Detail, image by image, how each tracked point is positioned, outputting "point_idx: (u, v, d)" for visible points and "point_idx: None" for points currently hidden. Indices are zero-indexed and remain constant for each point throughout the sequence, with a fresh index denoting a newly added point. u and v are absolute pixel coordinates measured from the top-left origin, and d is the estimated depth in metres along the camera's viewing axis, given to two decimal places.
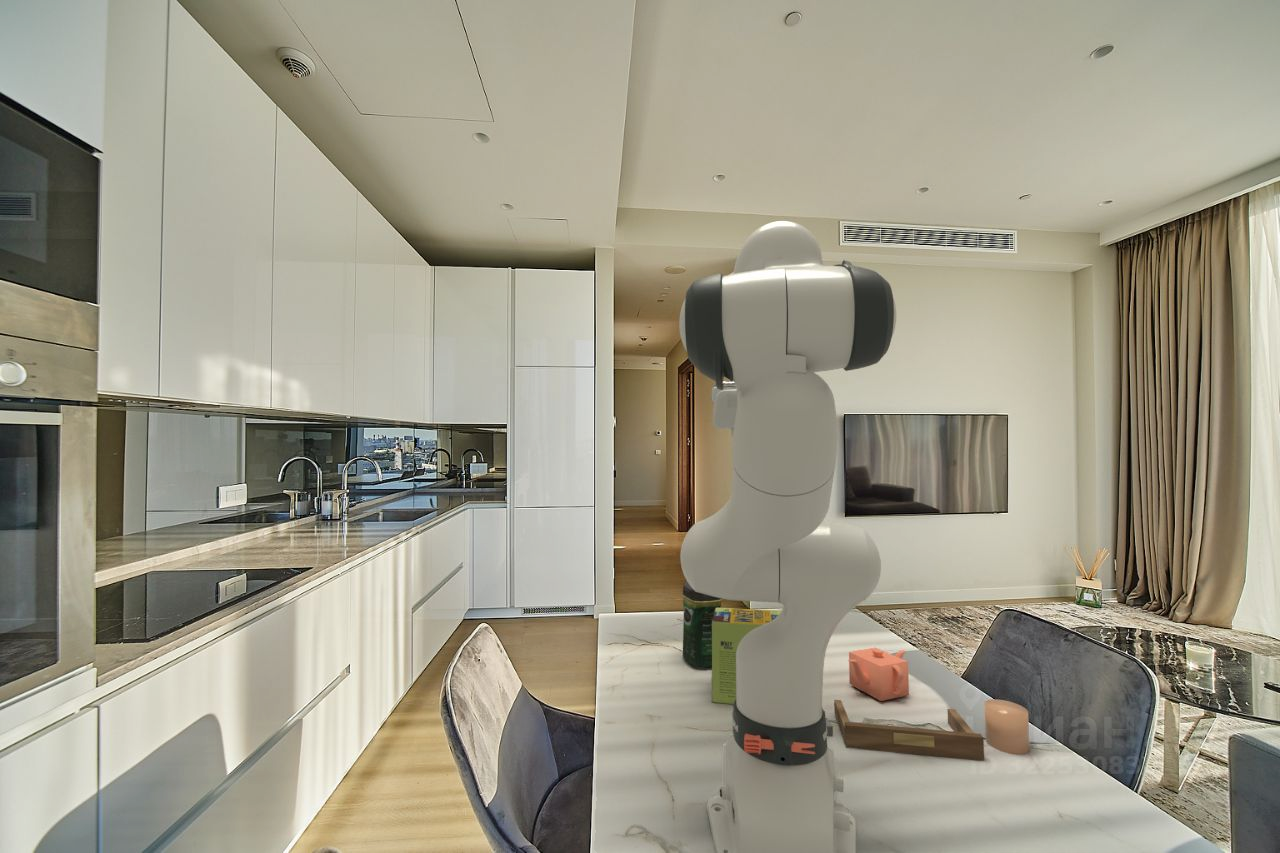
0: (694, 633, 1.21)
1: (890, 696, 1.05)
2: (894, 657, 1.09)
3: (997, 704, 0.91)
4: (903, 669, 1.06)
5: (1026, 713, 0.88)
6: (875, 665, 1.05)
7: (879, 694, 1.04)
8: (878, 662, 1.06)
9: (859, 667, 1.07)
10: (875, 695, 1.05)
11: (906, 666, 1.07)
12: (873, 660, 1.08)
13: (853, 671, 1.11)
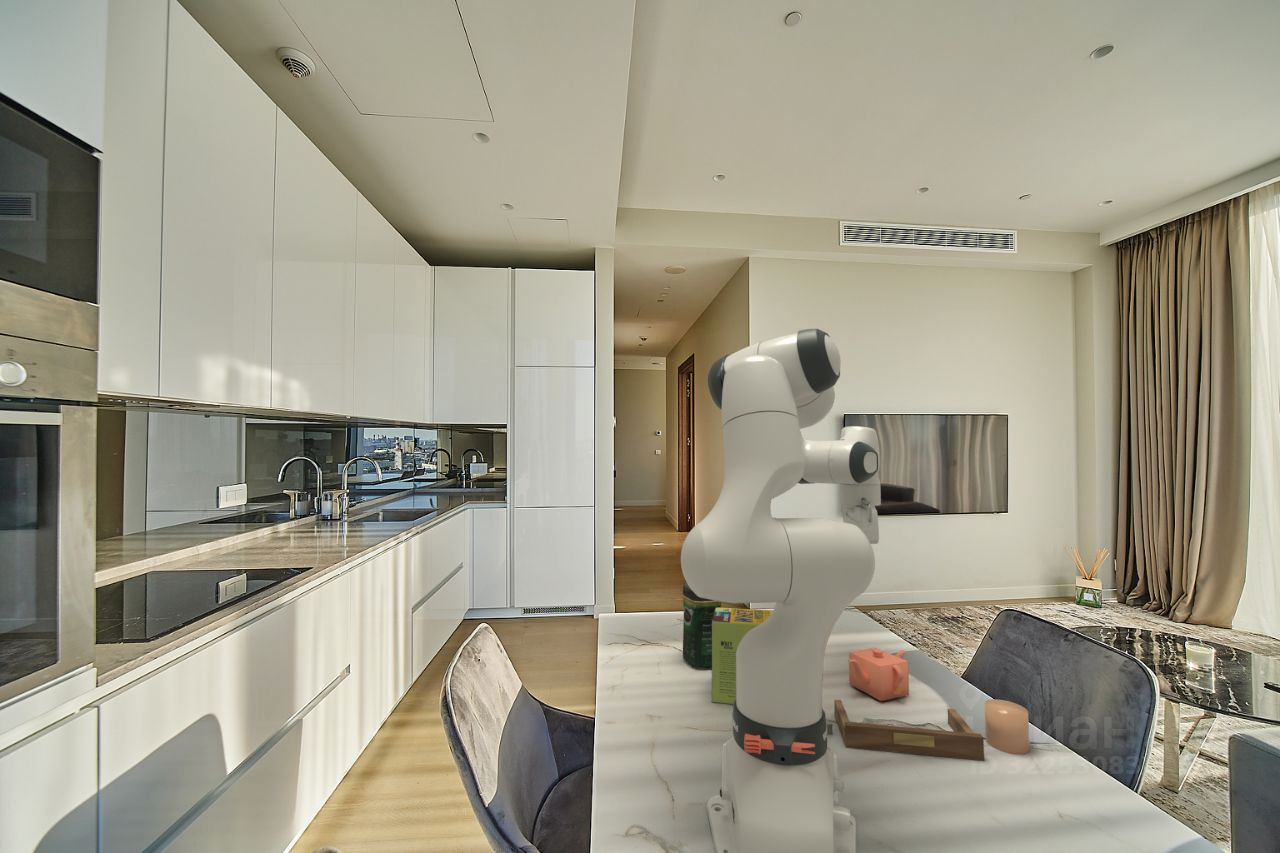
0: (694, 633, 1.21)
1: (890, 696, 1.05)
2: (894, 657, 1.09)
3: (997, 704, 0.91)
4: (903, 669, 1.06)
5: (1026, 713, 0.88)
6: (875, 665, 1.05)
7: (879, 694, 1.04)
8: (878, 662, 1.06)
9: (859, 667, 1.07)
10: (875, 695, 1.05)
11: (906, 666, 1.07)
12: (873, 660, 1.08)
13: (853, 671, 1.11)
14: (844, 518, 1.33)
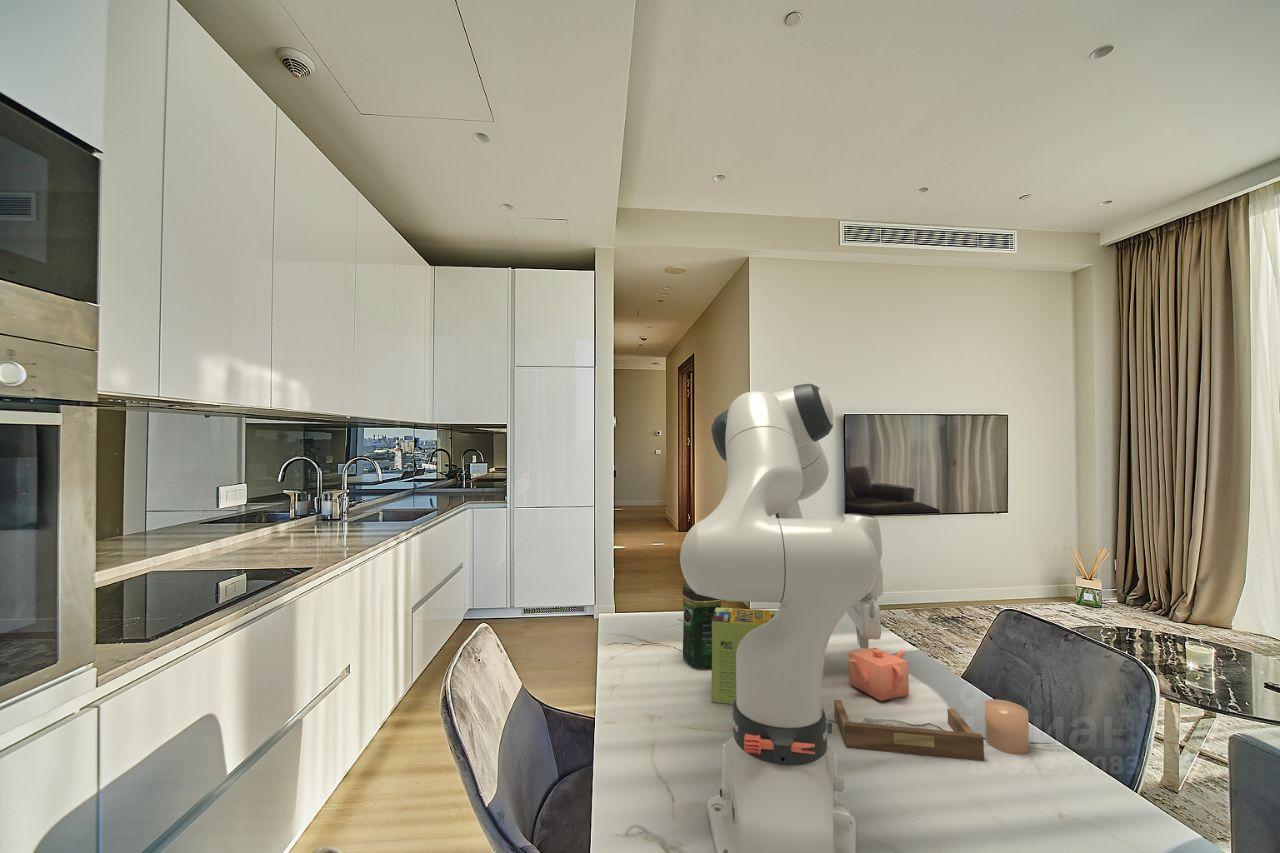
0: (694, 633, 1.21)
1: (890, 696, 1.05)
2: (894, 657, 1.09)
3: (997, 704, 0.91)
4: (903, 669, 1.06)
5: (1026, 713, 0.88)
6: (875, 665, 1.05)
7: (879, 694, 1.04)
8: (878, 662, 1.06)
9: (859, 667, 1.07)
10: (875, 695, 1.05)
11: (906, 666, 1.07)
12: (873, 660, 1.08)
13: (853, 671, 1.11)
14: None
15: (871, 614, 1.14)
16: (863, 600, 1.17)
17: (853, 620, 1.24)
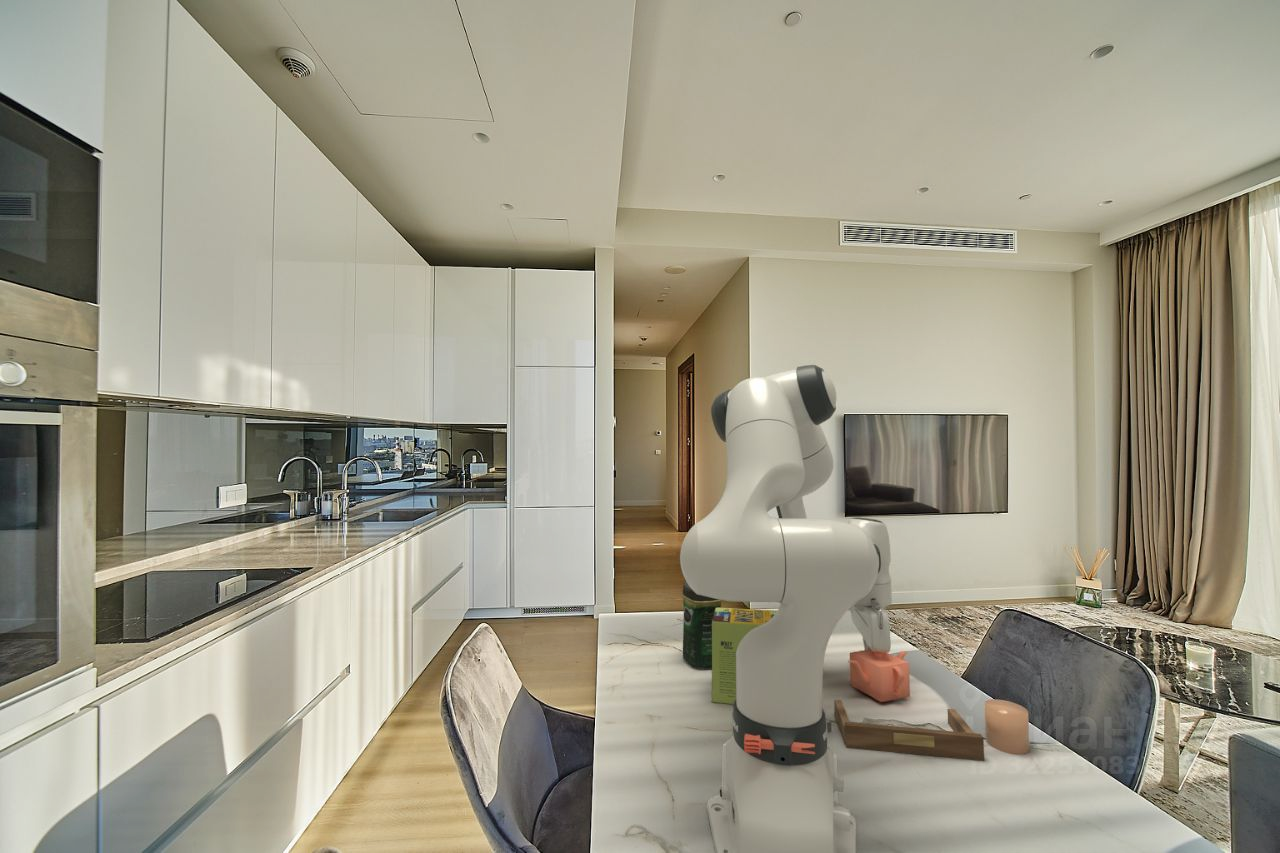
0: (694, 633, 1.21)
1: (890, 697, 1.04)
2: (895, 658, 1.08)
3: (997, 704, 0.91)
4: (904, 670, 1.05)
5: (1026, 713, 0.88)
6: (876, 666, 1.05)
7: (879, 695, 1.04)
8: (878, 663, 1.05)
9: (859, 668, 1.06)
10: (875, 696, 1.05)
11: (907, 667, 1.06)
12: (873, 660, 1.07)
13: (854, 672, 1.10)
14: (852, 610, 1.25)
15: (880, 625, 1.07)
16: (871, 610, 1.10)
17: (860, 631, 1.17)
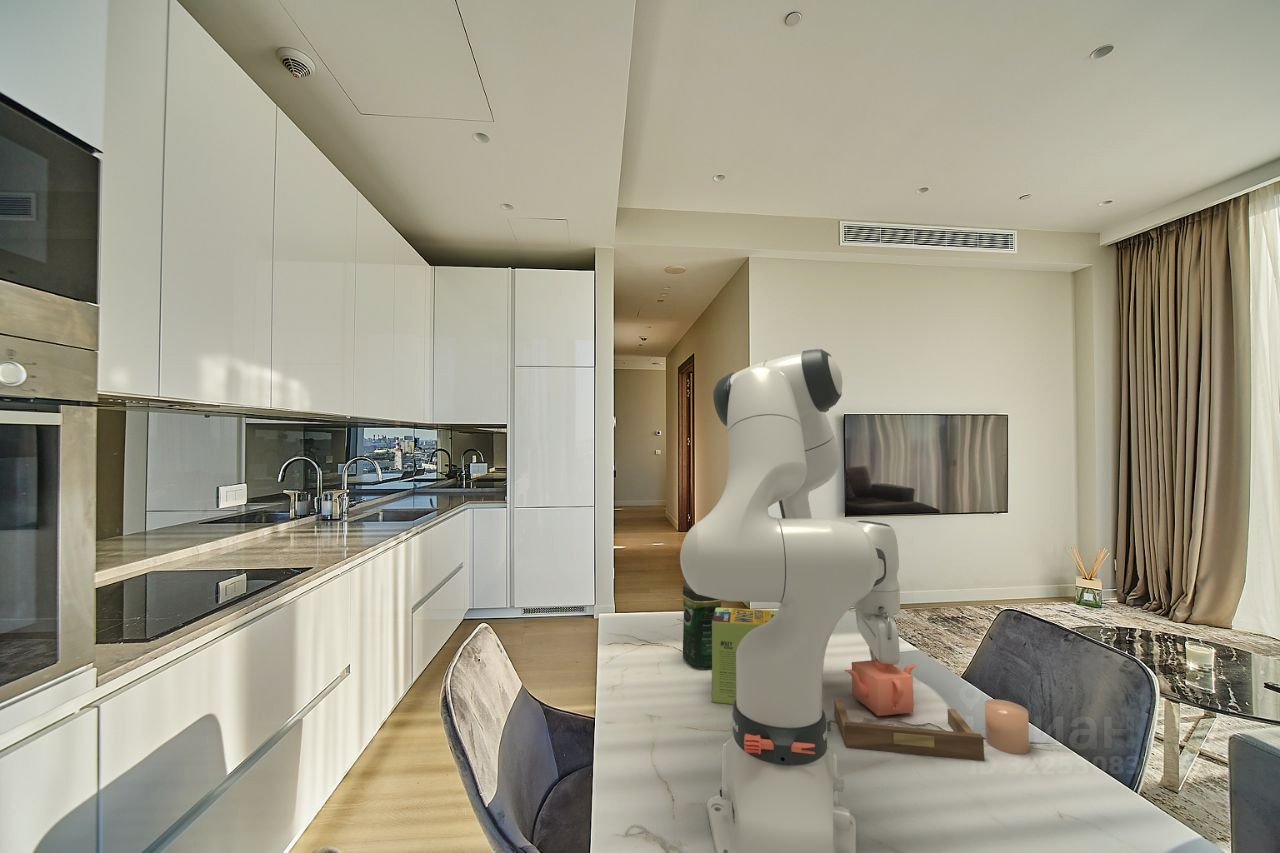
0: (694, 633, 1.21)
1: (889, 711, 0.98)
2: (899, 671, 1.02)
3: (997, 704, 0.91)
4: (906, 684, 0.99)
5: (1026, 713, 0.88)
6: (873, 678, 0.99)
7: (876, 709, 0.98)
8: (877, 675, 1.00)
9: (857, 678, 1.01)
10: (873, 709, 0.99)
11: (910, 681, 0.99)
12: (873, 672, 1.01)
13: None
14: (857, 618, 1.19)
15: (888, 636, 1.00)
16: (879, 619, 1.04)
17: (866, 641, 1.11)
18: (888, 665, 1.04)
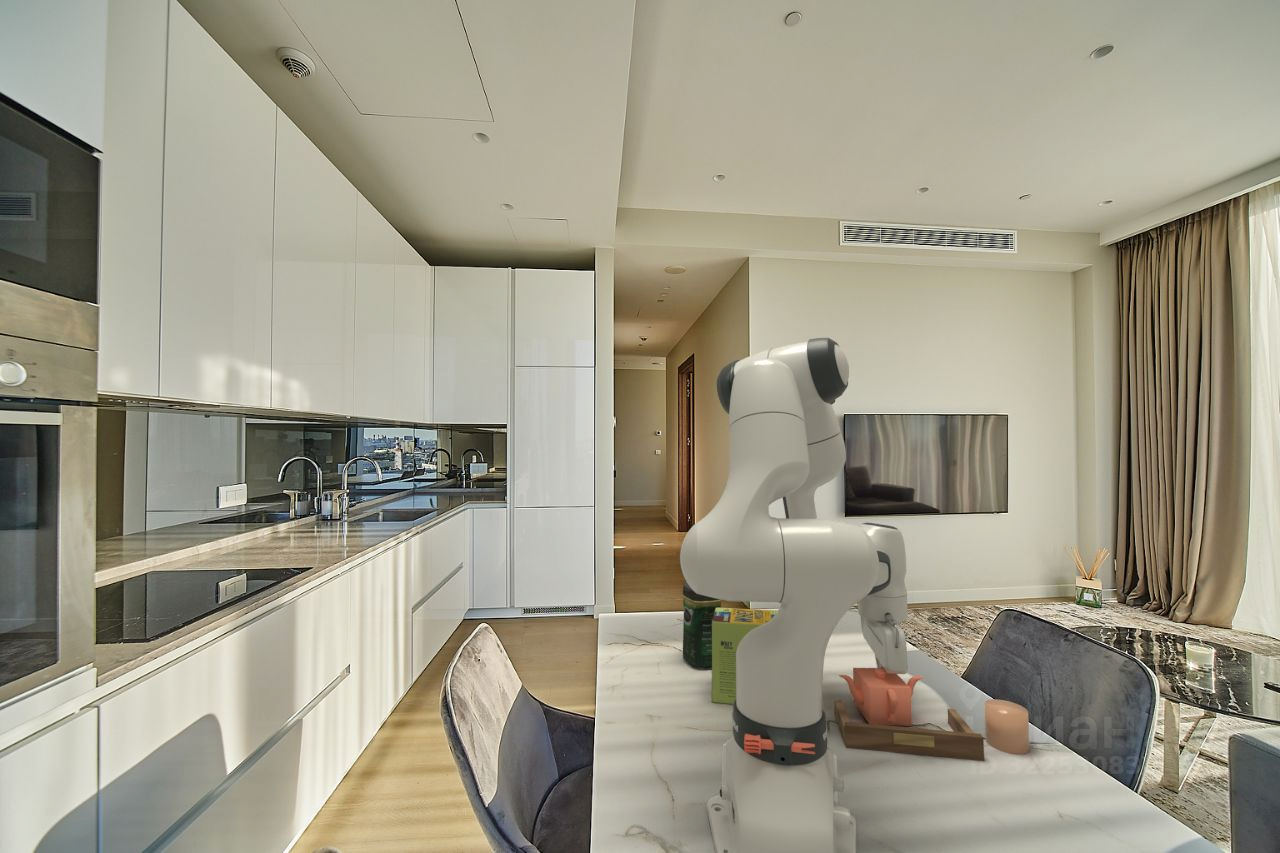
0: (694, 633, 1.21)
1: (883, 722, 0.94)
2: (899, 681, 0.97)
3: (997, 704, 0.91)
4: (903, 696, 0.94)
5: (1026, 713, 0.88)
6: (867, 685, 0.96)
7: (869, 717, 0.95)
8: (872, 683, 0.96)
9: (851, 684, 0.98)
10: (866, 718, 0.96)
11: (908, 693, 0.94)
12: (870, 679, 0.98)
13: None
14: (862, 624, 1.14)
15: (896, 644, 0.96)
16: (885, 627, 0.99)
17: (872, 648, 1.06)
18: (891, 674, 1.00)
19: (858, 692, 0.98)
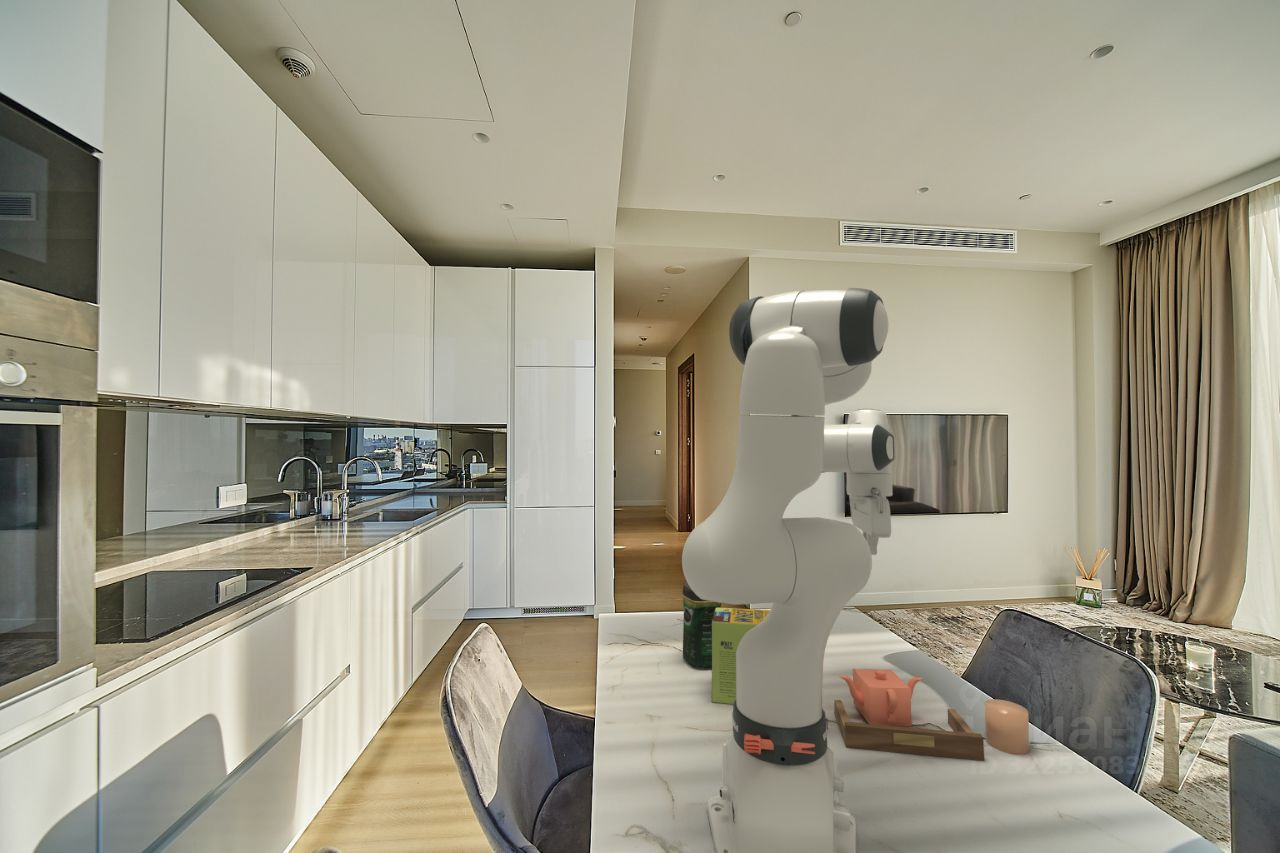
0: (694, 633, 1.21)
1: (883, 722, 0.94)
2: (899, 682, 0.97)
3: (997, 704, 0.91)
4: (903, 696, 0.95)
5: (1026, 713, 0.88)
6: (866, 686, 0.96)
7: (868, 718, 0.95)
8: (872, 683, 0.96)
9: (851, 685, 0.98)
10: (866, 718, 0.96)
11: (908, 693, 0.94)
12: (869, 680, 0.98)
13: (855, 690, 1.02)
14: (852, 512, 1.22)
15: (880, 509, 1.04)
16: None
17: (860, 526, 1.14)
18: (891, 675, 1.00)
19: (858, 693, 0.98)
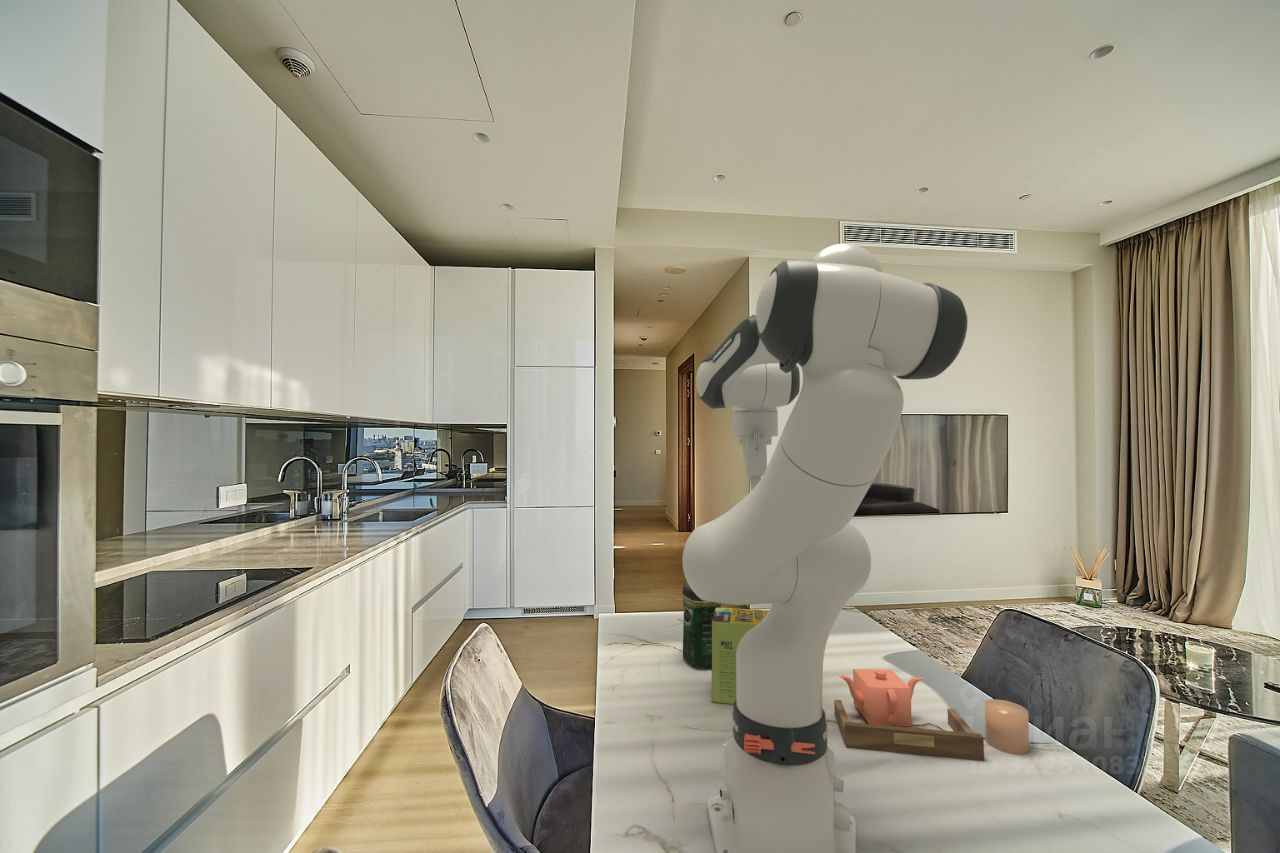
0: (694, 633, 1.21)
1: (883, 722, 0.94)
2: (899, 682, 0.97)
3: (997, 704, 0.91)
4: (903, 696, 0.95)
5: (1026, 713, 0.88)
6: (866, 686, 0.96)
7: (868, 718, 0.95)
8: (872, 683, 0.96)
9: (851, 685, 0.98)
10: (866, 718, 0.96)
11: (908, 693, 0.94)
12: (869, 680, 0.98)
13: None
14: (745, 457, 1.16)
15: (755, 446, 0.97)
16: None
17: None
18: (891, 675, 1.00)
19: (858, 693, 0.98)
